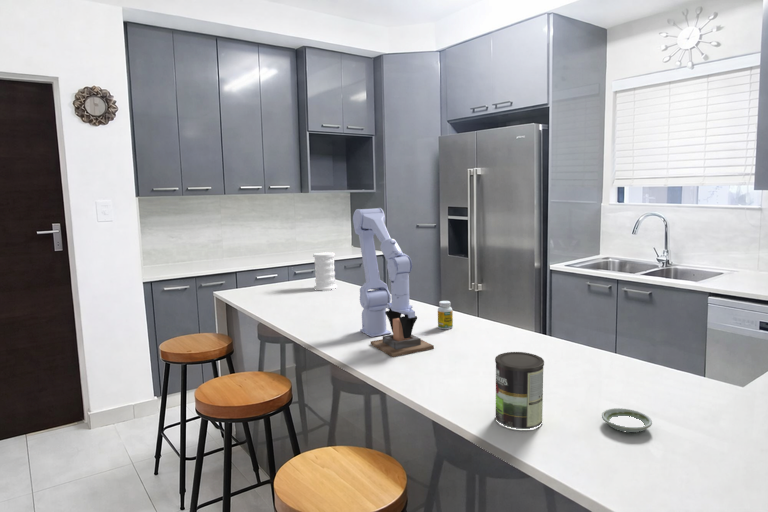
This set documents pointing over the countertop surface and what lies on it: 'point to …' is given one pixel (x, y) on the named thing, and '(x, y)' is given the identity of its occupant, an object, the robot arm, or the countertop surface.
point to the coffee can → (519, 389)
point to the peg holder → (401, 345)
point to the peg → (398, 330)
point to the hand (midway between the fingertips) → (401, 334)
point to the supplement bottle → (445, 315)
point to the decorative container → (324, 271)
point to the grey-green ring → (626, 412)
